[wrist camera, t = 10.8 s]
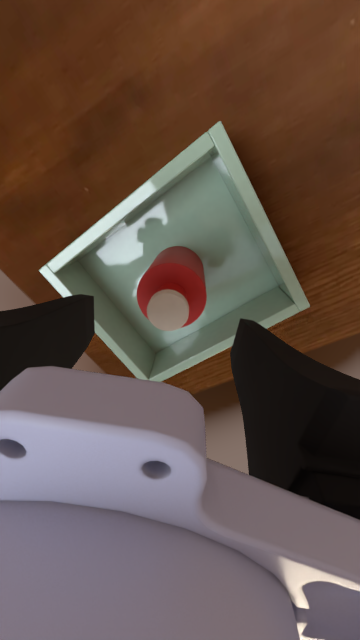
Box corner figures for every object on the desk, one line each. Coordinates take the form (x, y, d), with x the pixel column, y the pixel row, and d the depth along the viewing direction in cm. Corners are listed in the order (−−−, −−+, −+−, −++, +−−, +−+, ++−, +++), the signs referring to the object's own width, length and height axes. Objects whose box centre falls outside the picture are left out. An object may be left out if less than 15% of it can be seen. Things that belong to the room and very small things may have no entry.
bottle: (171, 305, 22) (158, 359, 14) (141, 265, 20) (110, 301, 13) (213, 280, 20) (223, 324, 13) (185, 234, 19) (178, 255, 12)
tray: (154, 359, 25) (146, 389, 21) (68, 257, 21) (37, 270, 17) (288, 286, 21) (311, 306, 17) (214, 139, 17) (220, 119, 13)
